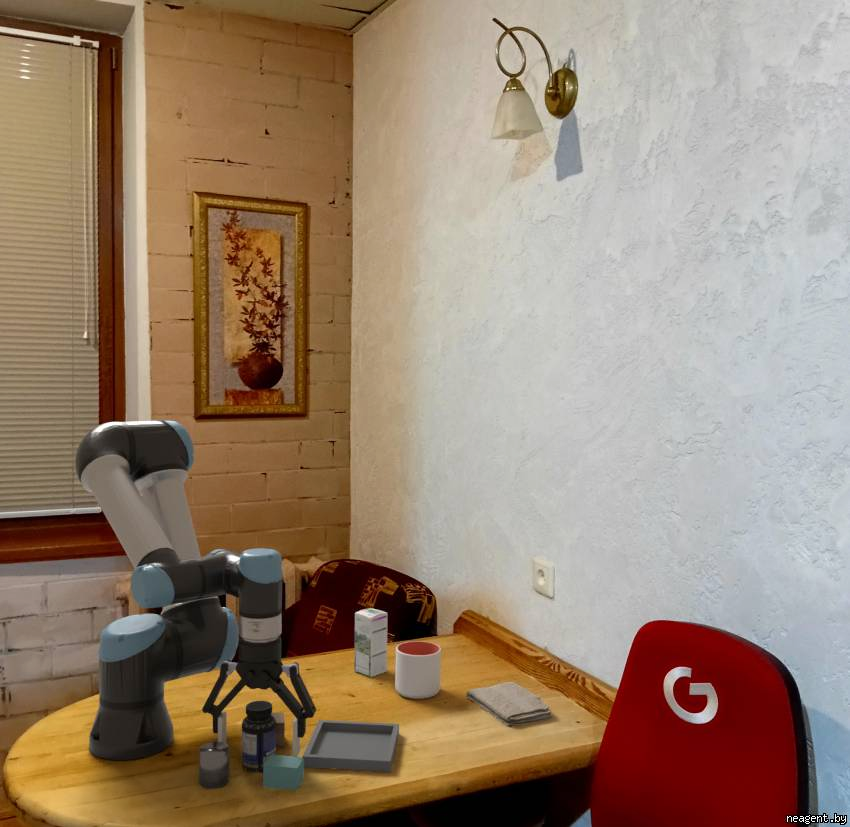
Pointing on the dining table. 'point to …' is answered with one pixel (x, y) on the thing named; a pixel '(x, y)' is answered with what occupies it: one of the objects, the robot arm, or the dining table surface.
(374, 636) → the syrup box
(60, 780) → the dining table surface
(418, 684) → the cup
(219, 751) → the metal cylinder
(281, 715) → the walnut cube
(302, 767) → the teal block
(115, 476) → the robot arm
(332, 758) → the tray
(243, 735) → the pill bottle
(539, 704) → the washcloth
